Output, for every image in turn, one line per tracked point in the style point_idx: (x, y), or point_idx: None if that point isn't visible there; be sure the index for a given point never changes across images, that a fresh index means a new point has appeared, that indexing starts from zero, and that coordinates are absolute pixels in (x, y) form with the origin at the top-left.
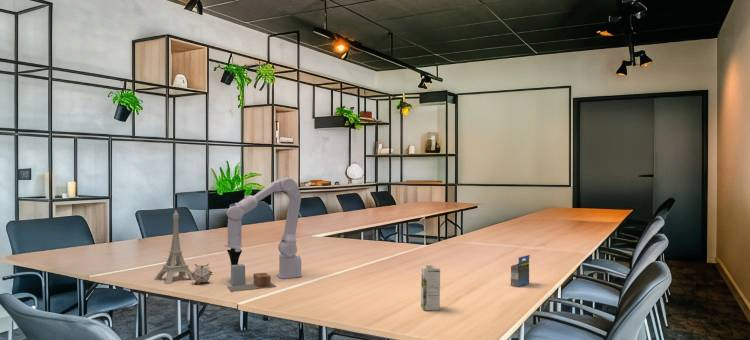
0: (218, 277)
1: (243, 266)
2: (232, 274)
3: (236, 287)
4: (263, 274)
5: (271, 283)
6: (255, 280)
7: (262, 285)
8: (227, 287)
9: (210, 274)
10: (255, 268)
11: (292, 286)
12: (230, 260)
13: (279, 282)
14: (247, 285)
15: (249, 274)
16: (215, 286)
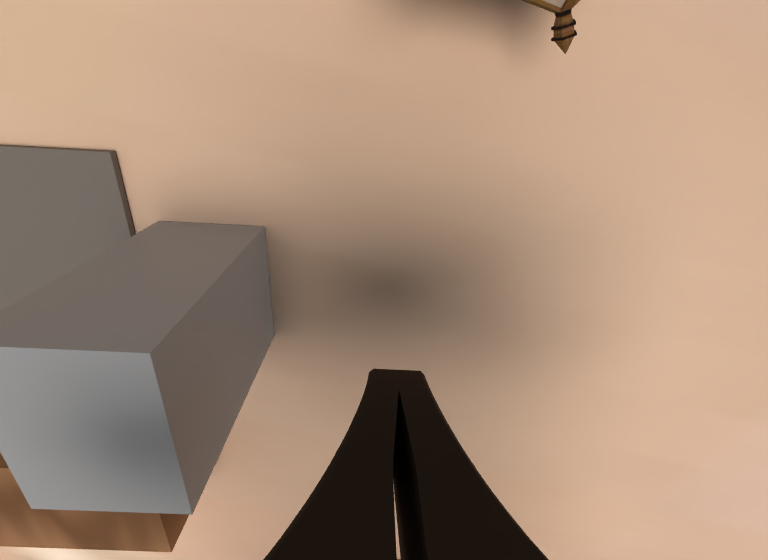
0: (685, 187)
1: (29, 480)
2: (98, 274)
3: (47, 233)
4: (83, 524)
5: None
6: None
7: None
8: (87, 150)
9: (539, 2)
10: (764, 528)
11: (53, 548)
12: (438, 435)
13: (196, 527)
14: None
15: (587, 451)
16: (208, 26)
